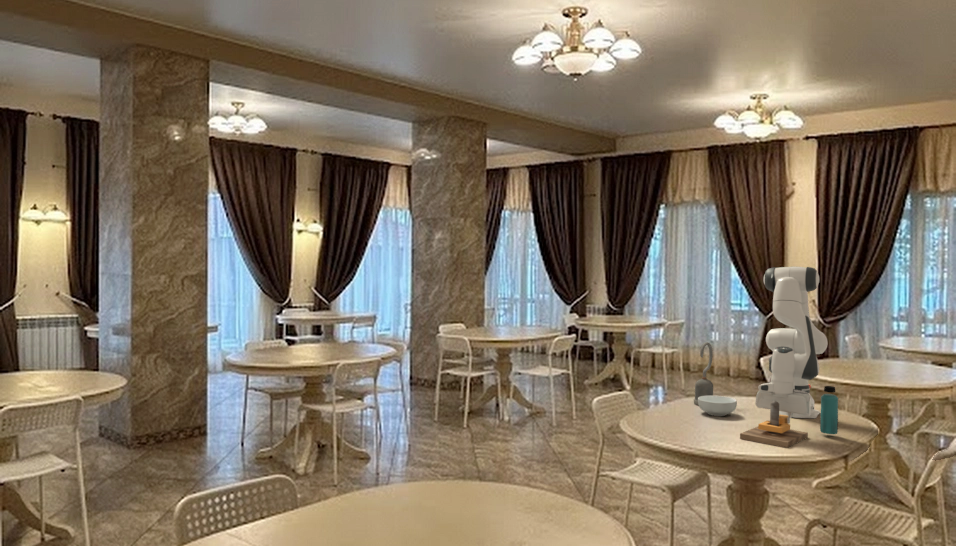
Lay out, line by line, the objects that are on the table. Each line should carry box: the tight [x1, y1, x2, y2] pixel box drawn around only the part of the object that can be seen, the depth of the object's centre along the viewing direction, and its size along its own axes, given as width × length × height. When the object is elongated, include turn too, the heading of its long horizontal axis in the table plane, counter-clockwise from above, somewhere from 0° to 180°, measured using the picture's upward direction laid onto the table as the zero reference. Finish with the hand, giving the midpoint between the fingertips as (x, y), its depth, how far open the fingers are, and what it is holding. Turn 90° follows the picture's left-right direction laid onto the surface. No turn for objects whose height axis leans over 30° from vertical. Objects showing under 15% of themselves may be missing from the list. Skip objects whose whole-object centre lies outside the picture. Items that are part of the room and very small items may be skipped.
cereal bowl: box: [697, 395, 738, 417], centre depth 324 cm, size 17×17×7 cm
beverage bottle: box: [819, 385, 839, 435], centre depth 287 cm, size 6×7×20 cm
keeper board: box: [739, 401, 809, 448], centre depth 282 cm, size 22×18×15 cm
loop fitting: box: [757, 415, 791, 433], centre depth 284 cm, size 15×9×4 cm, turn 137°
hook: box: [693, 341, 714, 406], centre depth 346 cm, size 10×12×30 cm
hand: (781, 422), depth 288 cm, fingers closed on loop fitting, 3 cm apart
